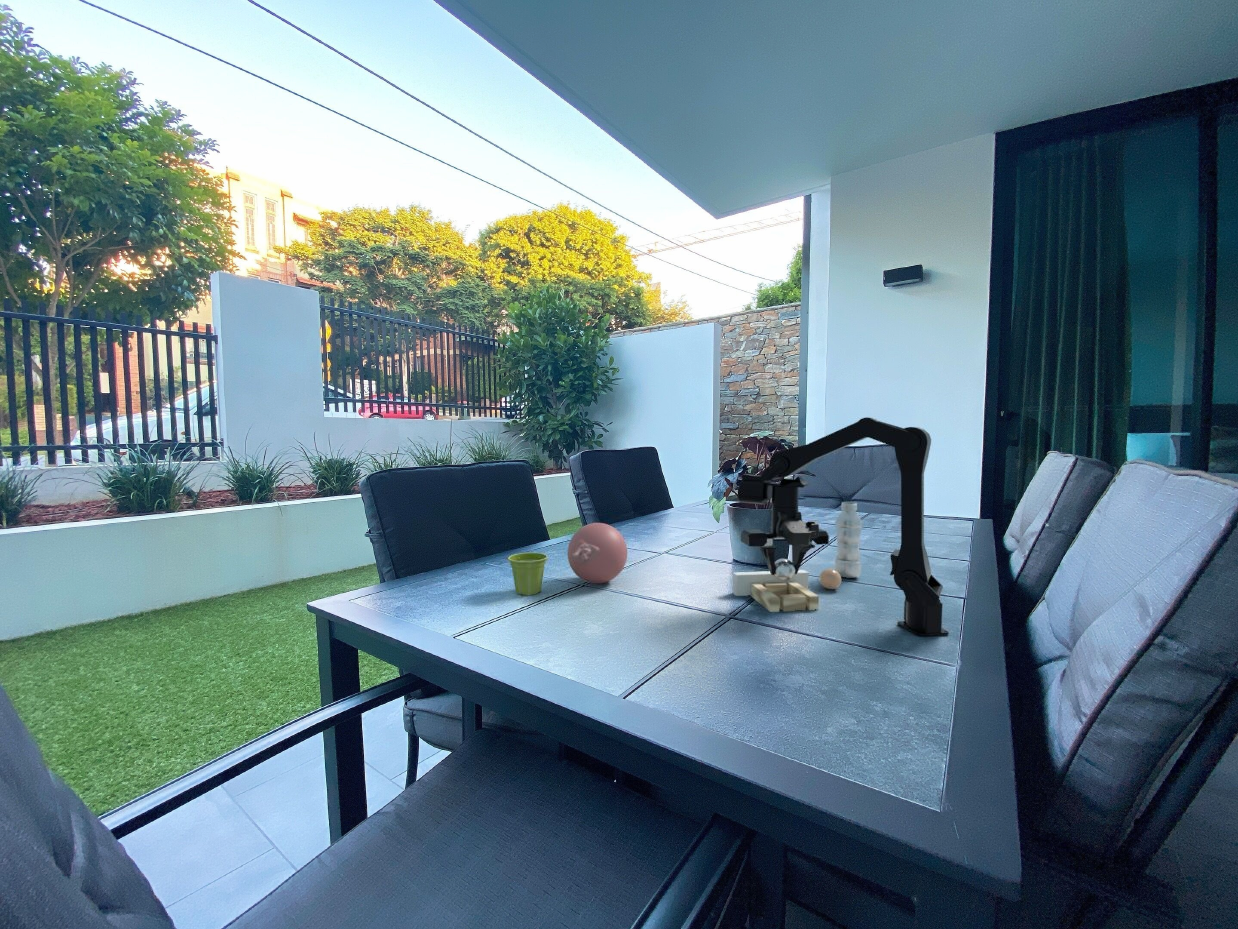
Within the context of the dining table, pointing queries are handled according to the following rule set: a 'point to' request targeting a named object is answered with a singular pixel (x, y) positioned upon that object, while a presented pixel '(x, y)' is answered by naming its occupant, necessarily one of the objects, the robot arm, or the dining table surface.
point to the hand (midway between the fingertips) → (783, 574)
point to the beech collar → (784, 596)
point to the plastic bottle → (848, 541)
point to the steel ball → (784, 569)
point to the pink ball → (597, 553)
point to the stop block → (763, 580)
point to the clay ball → (830, 578)
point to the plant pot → (528, 572)
